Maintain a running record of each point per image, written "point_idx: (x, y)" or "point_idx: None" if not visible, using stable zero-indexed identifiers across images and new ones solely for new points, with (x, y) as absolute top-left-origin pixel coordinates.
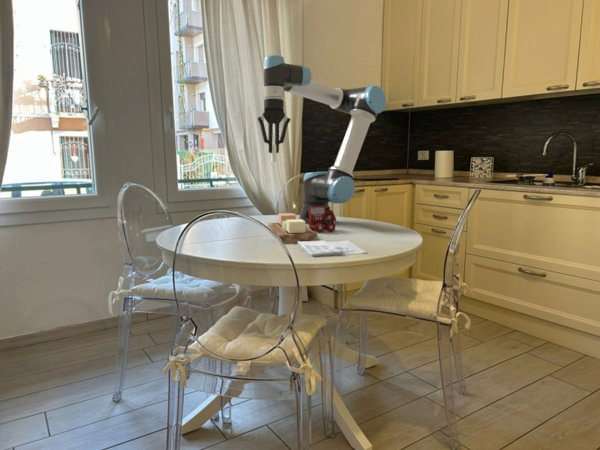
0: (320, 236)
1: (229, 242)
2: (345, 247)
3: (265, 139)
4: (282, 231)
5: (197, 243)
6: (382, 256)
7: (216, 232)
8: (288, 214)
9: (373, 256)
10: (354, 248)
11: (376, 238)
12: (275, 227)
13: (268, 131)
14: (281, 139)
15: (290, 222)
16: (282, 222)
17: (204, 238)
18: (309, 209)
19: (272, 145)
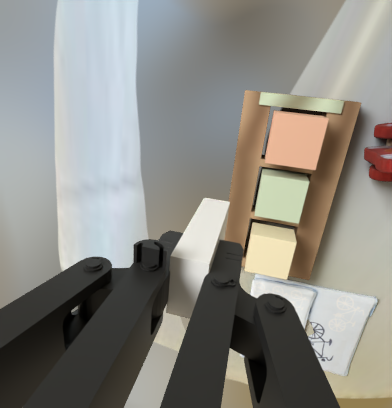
0: (350, 220)
1: (128, 211)
2: (331, 335)
3: (80, 328)
4: (240, 229)
5: (70, 200)
6: (357, 396)
7: (106, 88)
8: (299, 144)
9: (341, 390)
10: (341, 350)
11: None
12: (241, 173)
13: (55, 368)
14: (252, 377)
15: (247, 270)
16: (261, 179)
17: (81, 156)
18: (379, 168)
19: (169, 308)
